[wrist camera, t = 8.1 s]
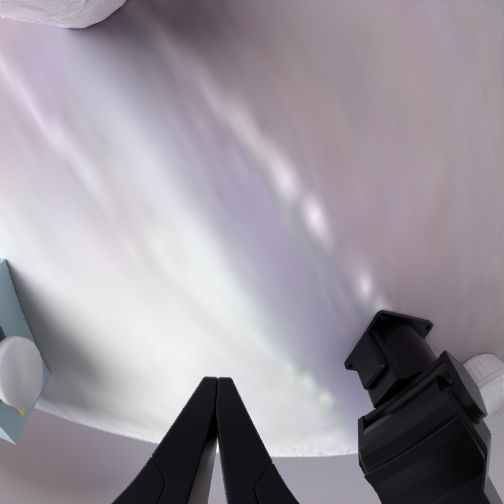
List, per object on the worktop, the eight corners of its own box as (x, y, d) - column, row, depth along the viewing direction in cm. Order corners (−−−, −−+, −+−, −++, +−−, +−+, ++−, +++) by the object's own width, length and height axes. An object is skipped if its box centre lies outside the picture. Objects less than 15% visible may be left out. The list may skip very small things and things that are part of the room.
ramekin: (471, 339, 26) (494, 371, 21) (509, 349, 28) (529, 374, 23) (413, 406, 30) (427, 439, 26) (460, 406, 32) (474, 432, 28)
